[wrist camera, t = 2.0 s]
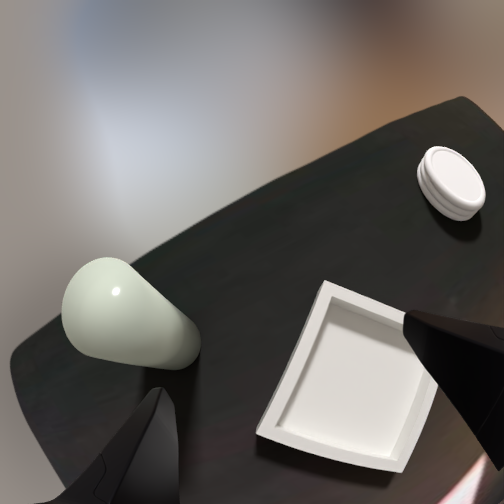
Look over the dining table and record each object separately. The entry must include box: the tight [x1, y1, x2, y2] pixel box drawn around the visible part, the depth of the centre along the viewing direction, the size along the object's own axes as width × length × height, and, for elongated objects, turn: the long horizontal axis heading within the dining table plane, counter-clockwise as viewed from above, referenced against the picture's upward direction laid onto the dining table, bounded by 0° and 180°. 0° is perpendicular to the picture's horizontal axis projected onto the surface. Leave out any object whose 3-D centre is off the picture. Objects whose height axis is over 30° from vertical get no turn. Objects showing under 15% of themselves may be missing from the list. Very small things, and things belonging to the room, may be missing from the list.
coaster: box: [417, 146, 485, 221], centre depth 27 cm, size 10×10×4 cm
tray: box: [256, 280, 438, 473], centre depth 19 cm, size 13×13×3 cm
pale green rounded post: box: [62, 257, 201, 370], centre depth 17 cm, size 5×5×12 cm
